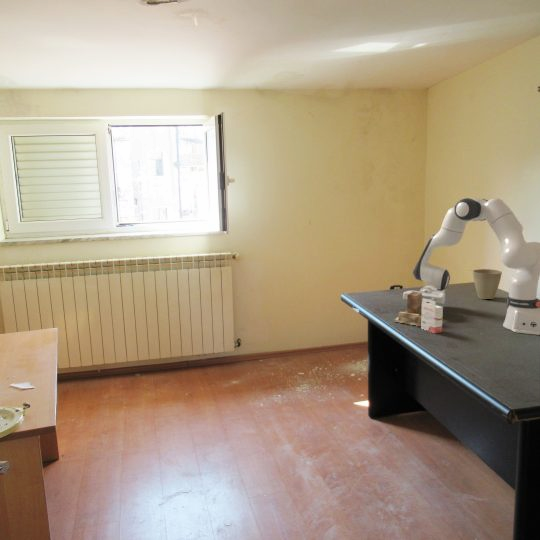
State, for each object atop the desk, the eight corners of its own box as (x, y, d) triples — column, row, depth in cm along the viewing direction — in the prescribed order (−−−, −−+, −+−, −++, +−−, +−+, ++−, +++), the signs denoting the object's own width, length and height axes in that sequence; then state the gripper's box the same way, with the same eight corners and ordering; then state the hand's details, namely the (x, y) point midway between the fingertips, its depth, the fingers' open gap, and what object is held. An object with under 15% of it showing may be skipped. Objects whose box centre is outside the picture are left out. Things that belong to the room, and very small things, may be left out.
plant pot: (494, 295, 276) (496, 268, 273) (504, 301, 261) (506, 273, 259) (467, 295, 278) (469, 268, 275) (476, 301, 263) (477, 273, 260)
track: (433, 319, 232) (433, 308, 231) (422, 327, 220) (422, 315, 219) (405, 315, 240) (405, 304, 239) (393, 322, 229) (394, 311, 228)
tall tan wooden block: (421, 316, 232) (422, 292, 230) (415, 320, 227) (416, 295, 224) (412, 315, 235) (412, 291, 233) (406, 318, 229) (407, 294, 227)
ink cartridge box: (442, 332, 213) (444, 300, 210) (434, 333, 210) (435, 301, 208) (428, 327, 220) (429, 296, 218) (420, 328, 218) (421, 298, 215)
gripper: (408, 286, 250) (398, 291, 239) (448, 291, 238) (439, 296, 227) (408, 298, 251) (398, 303, 240) (447, 303, 239) (438, 309, 228)
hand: (418, 300), depth 233 cm, fingers open, 8 cm apart
